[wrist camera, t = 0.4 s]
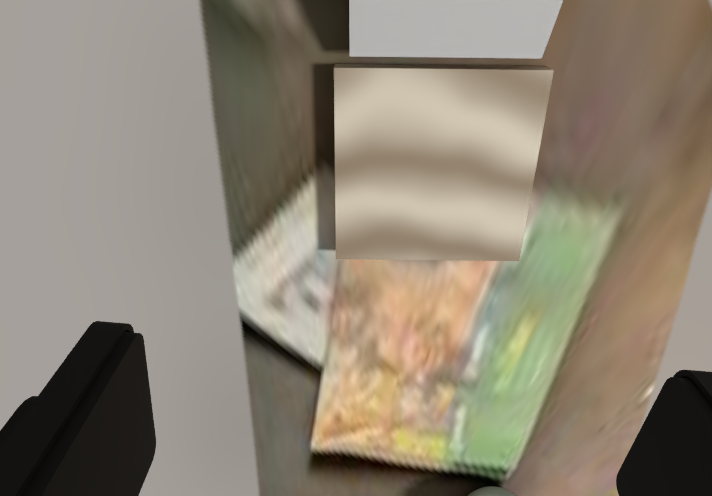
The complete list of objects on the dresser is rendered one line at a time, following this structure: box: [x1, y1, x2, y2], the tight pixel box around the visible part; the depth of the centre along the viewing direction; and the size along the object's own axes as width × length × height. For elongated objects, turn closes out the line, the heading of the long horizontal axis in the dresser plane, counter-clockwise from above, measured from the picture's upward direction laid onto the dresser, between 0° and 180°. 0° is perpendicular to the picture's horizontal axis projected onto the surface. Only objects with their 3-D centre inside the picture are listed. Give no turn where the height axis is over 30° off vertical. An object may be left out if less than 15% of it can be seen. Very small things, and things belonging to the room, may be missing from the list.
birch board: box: [334, 64, 554, 261], centre depth 37 cm, size 14×14×2 cm
